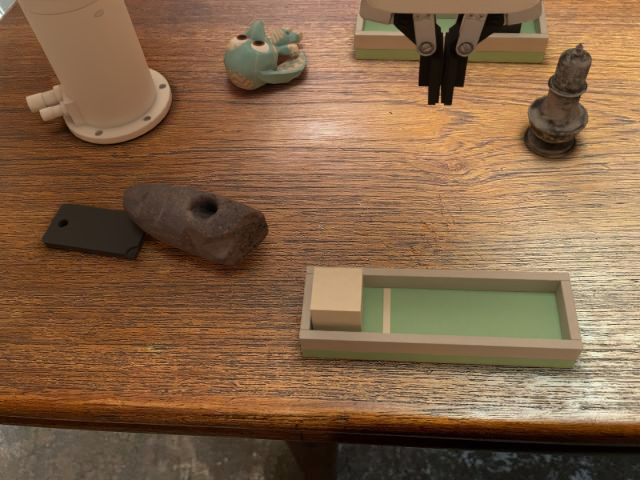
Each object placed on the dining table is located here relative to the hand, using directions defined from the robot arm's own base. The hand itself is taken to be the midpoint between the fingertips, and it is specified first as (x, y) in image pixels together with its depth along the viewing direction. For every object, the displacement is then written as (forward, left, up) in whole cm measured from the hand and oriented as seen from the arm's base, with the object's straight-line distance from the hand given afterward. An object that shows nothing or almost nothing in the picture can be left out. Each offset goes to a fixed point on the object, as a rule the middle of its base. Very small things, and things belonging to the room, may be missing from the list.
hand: (439, 91), depth 42 cm
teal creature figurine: (0, +35, -17) cm, 39 cm away
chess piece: (+18, +7, -19) cm, 28 cm away
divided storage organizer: (-3, -8, -19) cm, 21 cm away
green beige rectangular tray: (+16, +27, -19) cm, 37 cm away
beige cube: (-10, -4, -17) cm, 21 cm away
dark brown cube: (+22, +24, -17) cm, 37 cm away
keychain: (-29, +14, -19) cm, 37 cm away
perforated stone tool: (-20, +9, -19) cm, 29 cm away
